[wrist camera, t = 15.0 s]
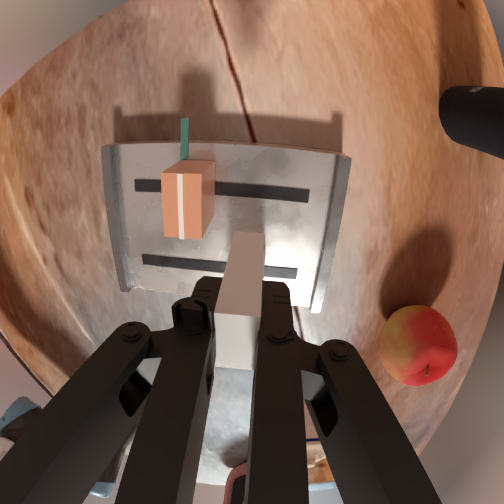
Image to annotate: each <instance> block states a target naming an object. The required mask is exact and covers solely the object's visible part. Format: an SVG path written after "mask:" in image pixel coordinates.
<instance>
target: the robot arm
mask: <svg viewBox="0 0 504 504" xmlns="http://www.w3.org/2000/svg"><path fill="white" fill-rule="evenodd" d="M263 249H264V233H251V232H239V231H235V233H234V237H233V241H232V245H231V248H230V252H229V256H228V260H227V264H226V267H225V271H224V275H223V277H212V276H203V277H202V278H200V279H199V280H198V281H197V282H196V284H195V287H194V291H193V292H192V295H191V297H187V298H183V299H180V300H178V301H177V302H175V303H174V304H173V306H172V307H171V308H172V316H173V323H174V327H173V328H171V329H168V330H163V331H152V332H151V331H150V329H149V328H148V326H147V325H145V324H143V323H141V322H128V323H125V324H122V325H121V326H119V327H118V328H117V329H116V330H115V331H114V332H113V333H112V334H111V335H110V336H109V337H108V338H107V339H106V340H105V341H104V342H103V343H102V345H101V346H100V347H99V348H98V349H97V350H96V351H95V352H94V353H93V354H92V355H91V356H90V357H89V358H88V359H87V361H86V362H85V363H84V364H83V365H82V366H81V367H80V368H79V369H78V370H77V371H76V373H75V374H74V375H73V376H72V377H71V378H70V379H69V380H68V381H67V382H66V384H65V385H64V386H63V387H62V388H61V389H60V390H59V391H58V393H57V394H56V395H55V396H54V397H53V398H52V399H51V400H50V402H49V403H48V404H47V405H46V406H45V407H44V409H42V408H41V406H39V405H37V404H35V403H34V402H32V401H31V400H30V399H29V398H27V397H19V398H18V399H16V401H14V402H13V403H12V405H11V406H10V407H9V408H8V409H7V410H6V412H5V413H4V415H3V416H2V418H1V419H0V449H1V452H0V504H82V503H83V502H84V500H85V499H86V497H87V496H88V494H92V495H95V496H98V497H102V498H107V497H109V496H110V494H111V492H112V489H113V487H114V485H115V484H116V483H115V482H116V478H117V475H118V472H119V469H120V465H121V462H122V459H123V456H124V453H125V450H126V448H127V446H128V445H129V444H130V443H131V442H132V440H133V439H134V440H133V443H132V446H131V449H130V452H129V455H128V459H127V462H126V465H125V468H124V472H123V476H122V479H121V482H120V486H119V489H118V493H117V496H116V500H115V503H114V504H192V502H193V496H194V490H195V484H196V478H197V472H198V466H199V460H200V454H201V448H202V442H203V436H204V431H205V425H206V419H207V414H208V408H209V402H210V397H211V391H212V386H213V380H214V365H215V366H216V367H225V368H235V369H246V370H254V377H253V386H252V403H251V417H250V431H249V444H248V458H247V471H246V483H245V496H244V504H309V494H308V493H309V490H308V466H307V446H306V429H305V414H304V400H305V403H306V406H307V409H308V411H309V414H310V417H311V419H312V422H313V424H314V427H315V430H316V432H317V435H318V438H319V440H320V443H321V445H322V448H323V451H324V453H325V456H326V458H327V461H328V464H329V466H330V469H331V472H332V474H333V477H334V479H335V482H336V485H337V487H338V490H339V492H340V495H341V498H342V500H343V503H344V504H442V503H441V501H440V499H439V497H438V495H437V493H436V491H435V489H434V487H433V485H432V483H431V481H430V479H429V477H428V475H427V473H426V471H425V469H424V467H423V466H422V464H421V462H420V460H419V458H418V456H417V454H416V452H415V451H414V449H413V447H412V445H411V443H410V441H409V440H408V438H407V436H406V434H405V432H404V431H403V429H402V427H401V425H400V423H399V422H398V420H397V418H396V416H395V415H394V413H393V411H392V409H391V407H390V406H389V404H388V402H387V401H386V399H385V397H384V395H383V394H382V392H381V390H380V388H379V387H378V385H377V383H376V382H375V380H374V378H373V377H372V375H371V373H370V371H369V370H368V368H367V366H366V365H365V363H364V361H363V360H362V358H361V356H360V355H359V353H358V352H357V350H356V349H355V348H354V346H353V345H351V344H350V343H348V342H346V341H343V340H339V339H332V340H329V341H326V342H324V343H323V344H322V345H321V346H318V345H314V344H311V343H308V342H306V341H304V340H302V339H301V338H300V337H299V336H298V335H297V333H296V331H295V330H294V326H293V315H292V305H291V295H290V288H289V287H288V286H287V284H286V283H285V282H281V281H268V280H262V277H263ZM303 399H304V400H303ZM140 417H141V418H140Z"/></svg>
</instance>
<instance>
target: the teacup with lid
mask: <svg viewBox="0 0 504 504" xmlns="http://www.w3.org/2000/svg"><path fill="white" fill-rule="evenodd" d="M303 400H304V399H303ZM304 414H305V429H306V446H307V466H308V468H311V467H314V466H315V465H316V462H318V461H320V460H321V459H323V458H326V456H325V453H324V451H323V448H322V445H321V443H320V440H319V438H318V435H317V432H316V430H315V427H314V424H313V422H312V419H311V417H310V414H309V411H308V409H307V406H306V403H305V400H304Z"/></svg>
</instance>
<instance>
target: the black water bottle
mask: <svg viewBox="0 0 504 504" xmlns="http://www.w3.org/2000/svg"><path fill="white" fill-rule="evenodd" d="M439 114H440V120H441V123H442V126H443V128H444V130H445V132H446V134H447V135H448V136H449V137H450V138H451V139H452V140H453V141H455V142H457V143H459V144H462V145H465V146H468V147H471V148H474V149H477V150H480V151H482V152H485V153H488V154H491V155H493V156H496V157H498V158H501V159H504V88H500V87H482V86H455V87H450V88H449V89H448V90H446V91H445V92H444V94H443V96H442V98H441V101H440V106H439Z"/></svg>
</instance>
